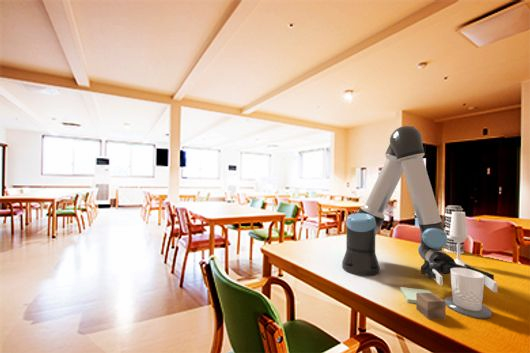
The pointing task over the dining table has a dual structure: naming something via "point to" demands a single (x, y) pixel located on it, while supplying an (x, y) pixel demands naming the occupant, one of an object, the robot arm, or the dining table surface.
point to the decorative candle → (451, 244)
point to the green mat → (412, 293)
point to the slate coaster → (476, 314)
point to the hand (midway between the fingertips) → (467, 284)
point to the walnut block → (431, 305)
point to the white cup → (467, 288)
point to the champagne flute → (458, 232)
